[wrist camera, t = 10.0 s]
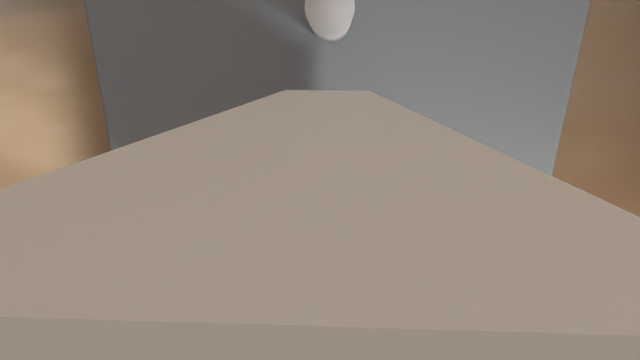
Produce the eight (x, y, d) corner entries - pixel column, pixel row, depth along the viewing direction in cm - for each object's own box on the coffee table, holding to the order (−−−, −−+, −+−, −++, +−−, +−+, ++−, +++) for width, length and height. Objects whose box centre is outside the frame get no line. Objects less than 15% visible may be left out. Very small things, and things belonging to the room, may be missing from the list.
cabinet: (496, 22, 21) (665, -30, 10) (460, 267, 26) (547, 401, 15) (163, 21, 21) (-2, -28, 11) (192, 260, 26) (99, 383, 16)
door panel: (368, 90, 12) (911, 343, 1) (357, 321, 15) (435, 1073, 4) (285, 90, 12) (-340, 306, 1) (291, 319, 15) (168, 1047, 4)
